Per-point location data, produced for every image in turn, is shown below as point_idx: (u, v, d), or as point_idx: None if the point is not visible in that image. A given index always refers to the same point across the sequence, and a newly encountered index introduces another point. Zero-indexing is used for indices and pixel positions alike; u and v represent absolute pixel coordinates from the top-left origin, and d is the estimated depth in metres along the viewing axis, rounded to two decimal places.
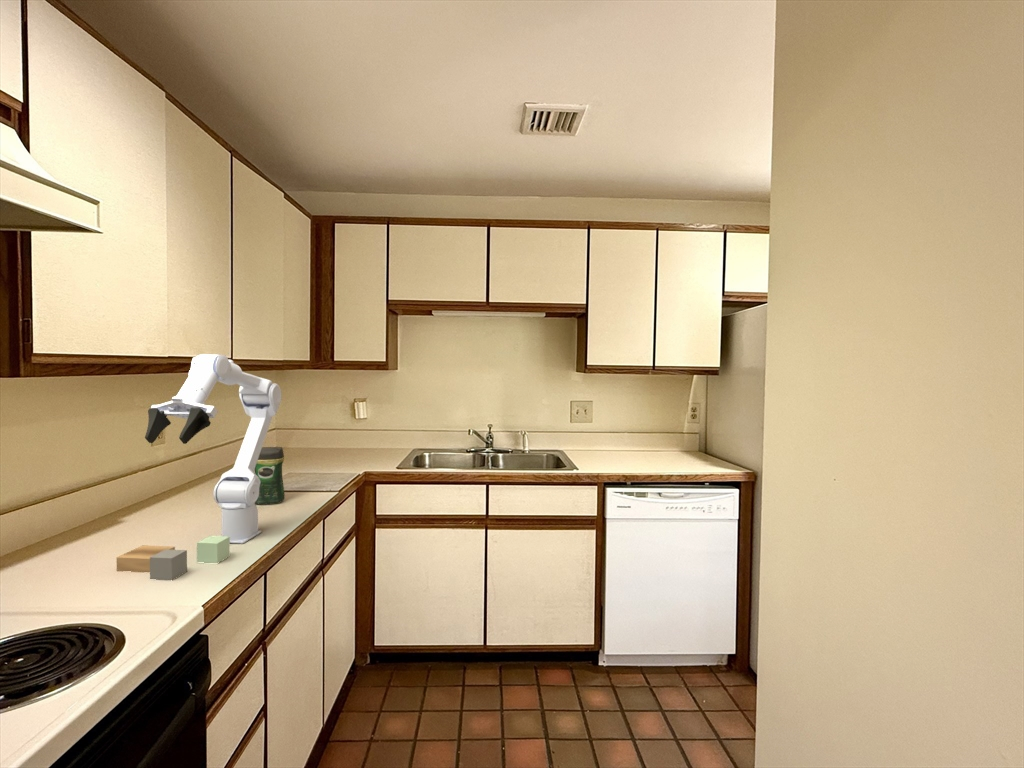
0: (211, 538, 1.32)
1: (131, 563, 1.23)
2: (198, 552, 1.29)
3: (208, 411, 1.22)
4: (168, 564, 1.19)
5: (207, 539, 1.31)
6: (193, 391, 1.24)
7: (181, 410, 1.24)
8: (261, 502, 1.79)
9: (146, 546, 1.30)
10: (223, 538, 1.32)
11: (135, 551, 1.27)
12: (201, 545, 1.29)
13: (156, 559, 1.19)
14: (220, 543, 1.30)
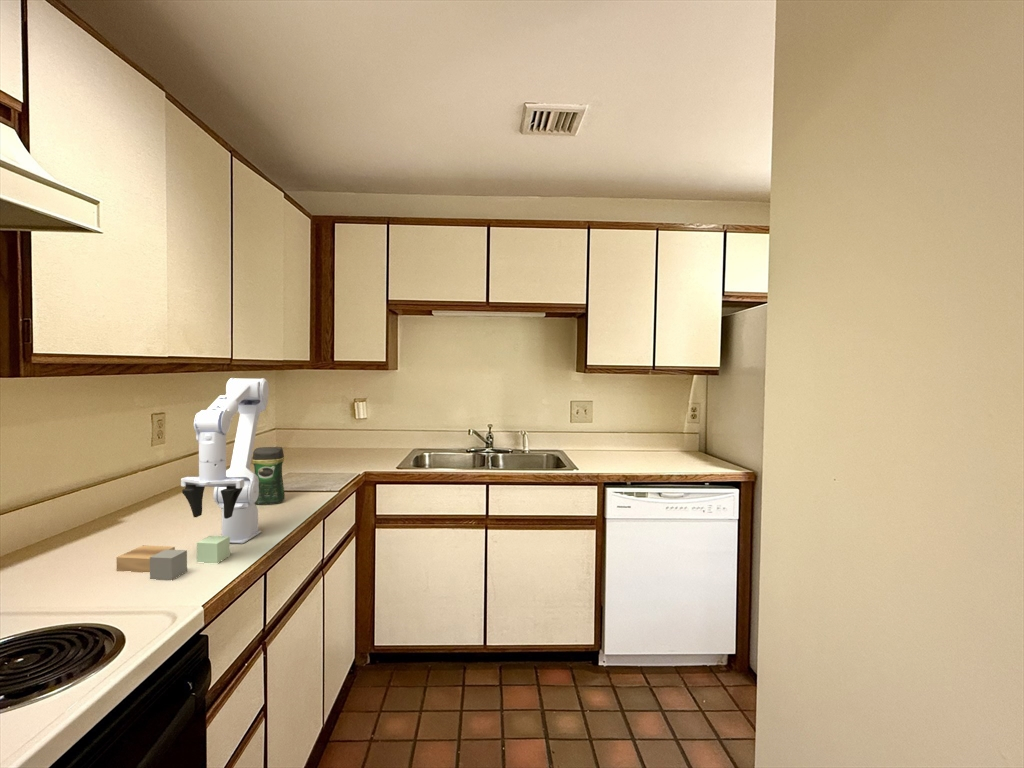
0: (211, 538, 1.32)
1: (131, 563, 1.23)
2: (198, 552, 1.29)
3: (237, 487, 1.29)
4: (168, 564, 1.19)
5: (207, 539, 1.31)
6: (213, 467, 1.28)
7: None
8: (261, 502, 1.79)
9: (146, 546, 1.30)
10: (223, 538, 1.32)
11: (135, 551, 1.27)
12: (201, 545, 1.29)
13: (156, 559, 1.19)
14: (220, 543, 1.30)
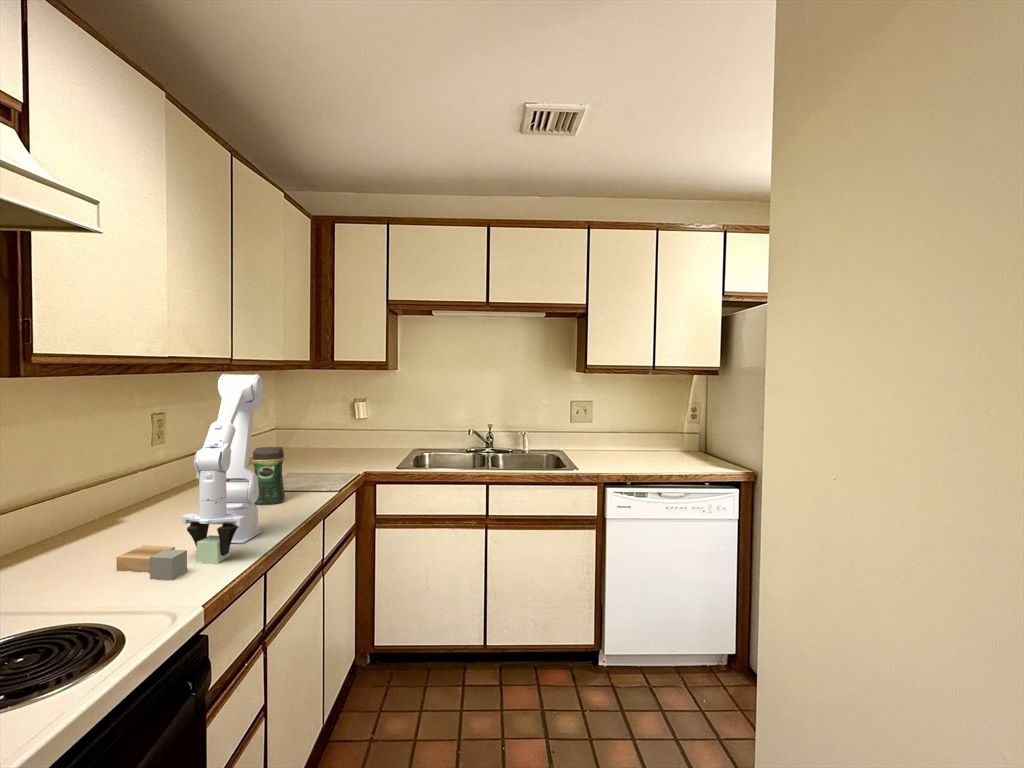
0: (211, 538, 1.32)
1: (131, 563, 1.23)
2: (198, 552, 1.29)
3: (237, 524, 1.29)
4: (168, 564, 1.19)
5: (207, 538, 1.31)
6: (213, 506, 1.28)
7: None
8: (261, 502, 1.79)
9: (147, 546, 1.31)
10: None
11: (135, 551, 1.27)
12: (201, 545, 1.29)
13: (156, 559, 1.19)
14: None
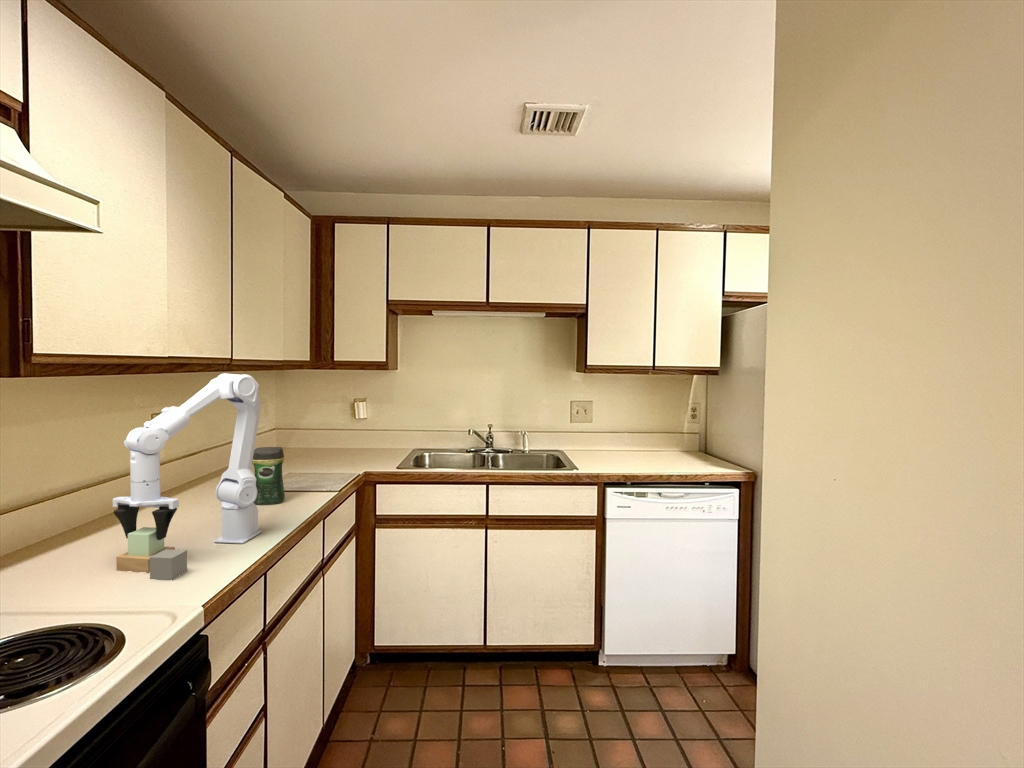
0: (144, 529, 1.27)
1: (130, 562, 1.23)
2: (129, 544, 1.24)
3: (170, 507, 1.25)
4: (168, 564, 1.19)
5: (140, 530, 1.27)
6: (144, 488, 1.24)
7: None
8: (261, 502, 1.79)
9: None
10: None
11: None
12: (132, 536, 1.24)
13: (156, 559, 1.19)
14: (152, 534, 1.25)
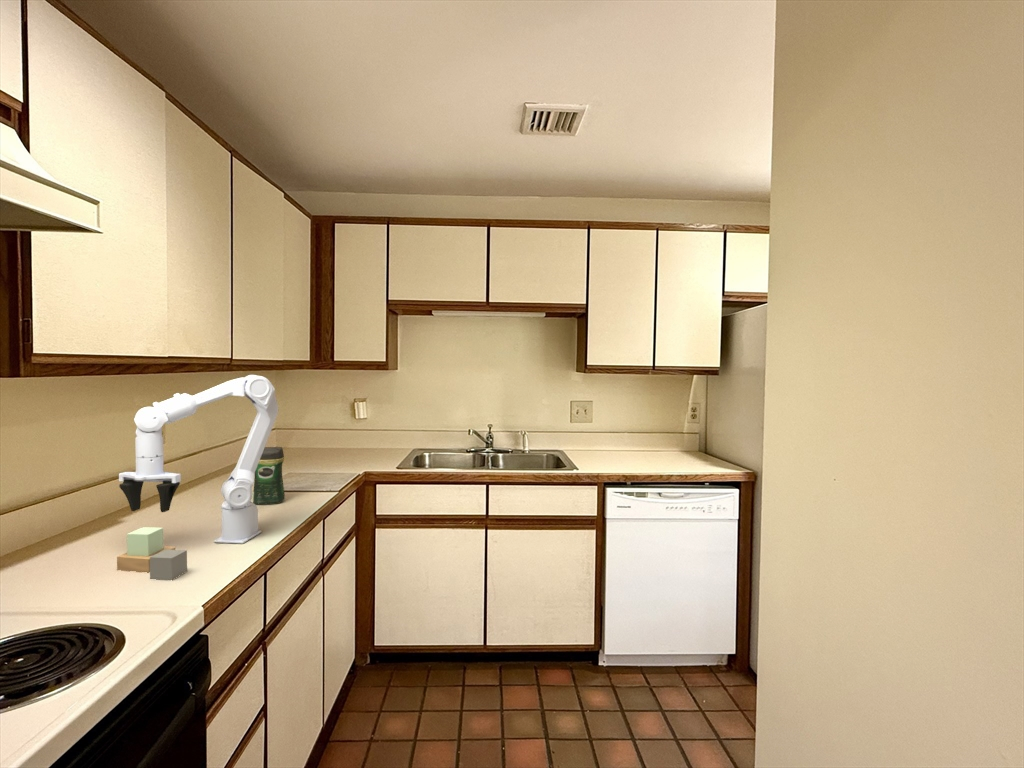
0: (143, 529, 1.27)
1: (130, 562, 1.23)
2: (128, 544, 1.24)
3: (173, 481, 1.33)
4: (168, 564, 1.19)
5: (139, 530, 1.27)
6: (149, 463, 1.32)
7: None
8: (261, 502, 1.79)
9: None
10: (156, 529, 1.28)
11: None
12: (131, 536, 1.24)
13: (156, 559, 1.19)
14: (152, 534, 1.25)
